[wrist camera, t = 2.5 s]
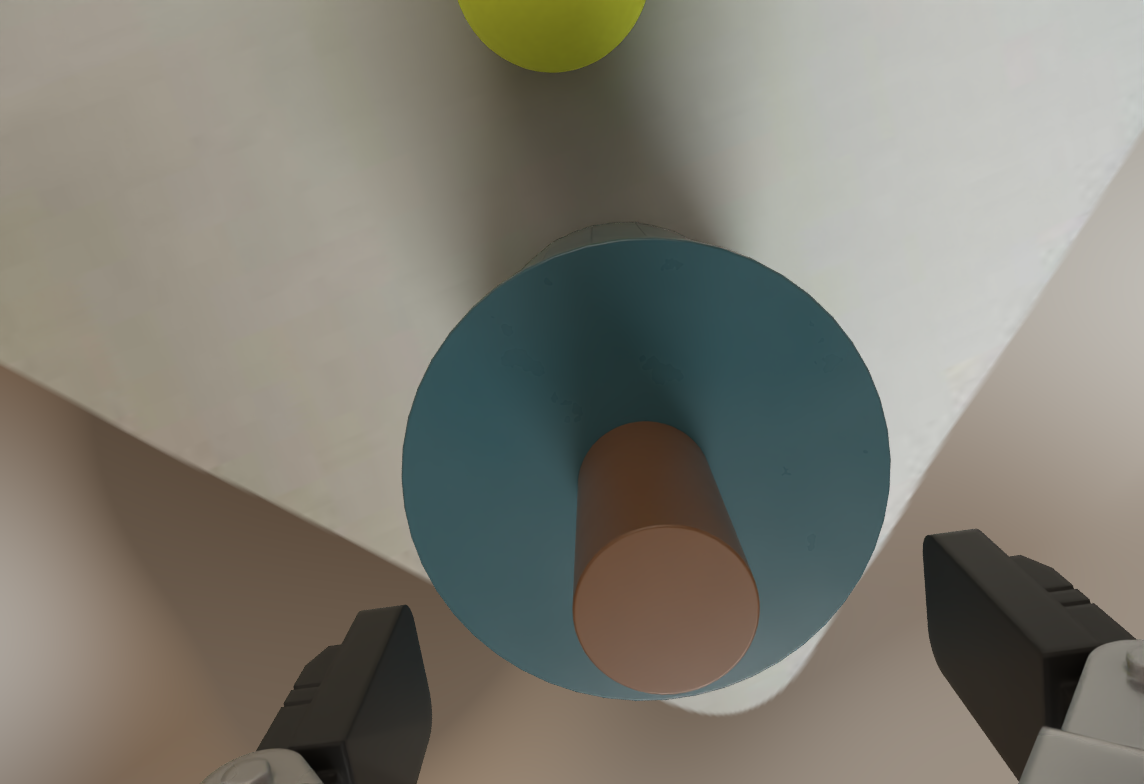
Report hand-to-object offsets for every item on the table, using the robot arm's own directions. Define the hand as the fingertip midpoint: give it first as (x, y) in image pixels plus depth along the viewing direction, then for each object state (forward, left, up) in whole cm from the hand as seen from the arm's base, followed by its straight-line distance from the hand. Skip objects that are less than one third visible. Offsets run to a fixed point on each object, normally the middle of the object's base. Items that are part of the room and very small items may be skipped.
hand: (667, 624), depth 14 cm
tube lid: (0, 0, -7) cm, 7 cm away
